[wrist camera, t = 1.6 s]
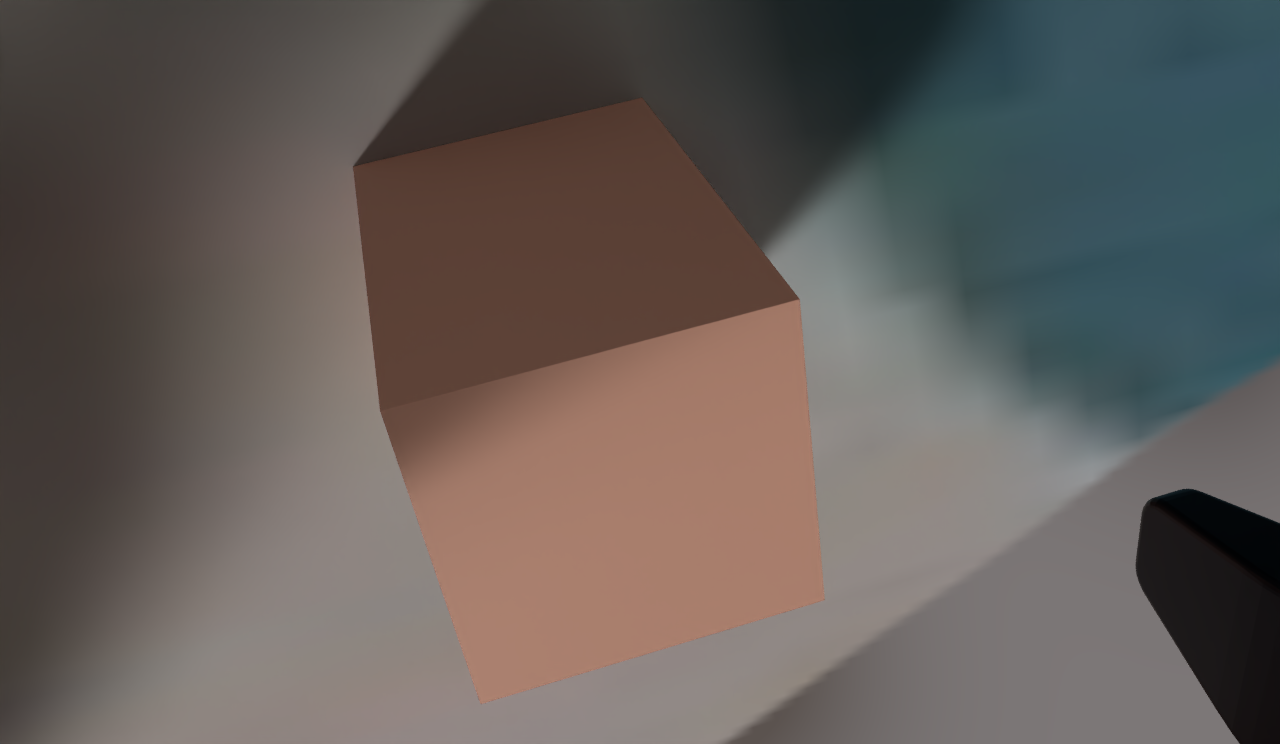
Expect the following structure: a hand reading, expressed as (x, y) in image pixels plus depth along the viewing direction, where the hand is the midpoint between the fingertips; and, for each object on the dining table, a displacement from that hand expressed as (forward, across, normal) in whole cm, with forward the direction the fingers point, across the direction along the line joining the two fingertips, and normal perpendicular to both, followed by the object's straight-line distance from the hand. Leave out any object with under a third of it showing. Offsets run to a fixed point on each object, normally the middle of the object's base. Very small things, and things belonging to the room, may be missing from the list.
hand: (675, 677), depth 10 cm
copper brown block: (+8, 0, 0) cm, 8 cm away
